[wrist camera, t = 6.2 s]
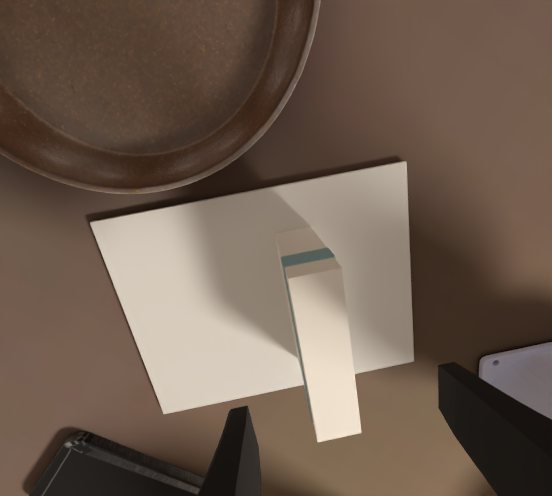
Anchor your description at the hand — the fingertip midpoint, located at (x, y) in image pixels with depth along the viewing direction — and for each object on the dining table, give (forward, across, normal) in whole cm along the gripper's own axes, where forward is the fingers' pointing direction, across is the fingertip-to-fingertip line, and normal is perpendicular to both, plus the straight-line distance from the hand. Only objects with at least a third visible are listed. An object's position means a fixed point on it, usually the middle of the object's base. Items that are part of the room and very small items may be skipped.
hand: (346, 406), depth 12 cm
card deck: (+9, 0, 0) cm, 9 cm away
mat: (+9, +2, 0) cm, 10 cm away
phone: (+10, +15, +15) cm, 24 cm away
